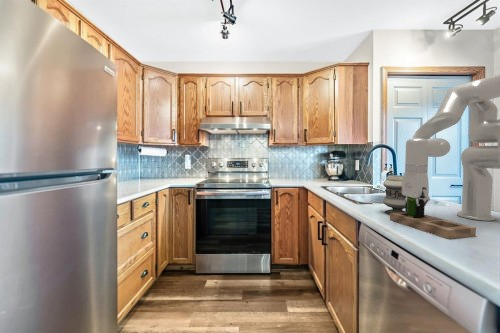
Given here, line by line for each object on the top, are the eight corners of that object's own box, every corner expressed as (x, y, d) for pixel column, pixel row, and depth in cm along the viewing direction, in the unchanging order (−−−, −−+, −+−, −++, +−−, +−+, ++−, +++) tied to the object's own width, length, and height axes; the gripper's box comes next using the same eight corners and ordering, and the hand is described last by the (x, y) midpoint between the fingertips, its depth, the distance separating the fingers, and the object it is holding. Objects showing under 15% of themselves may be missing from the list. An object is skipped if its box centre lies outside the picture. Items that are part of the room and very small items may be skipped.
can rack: (389, 220, 103) (390, 213, 103) (412, 218, 106) (412, 211, 106) (448, 239, 80) (449, 230, 79) (475, 236, 82) (476, 227, 82)
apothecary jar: (378, 210, 121) (379, 174, 120) (404, 211, 119) (405, 174, 118) (388, 216, 109) (390, 176, 108) (417, 217, 107) (419, 177, 106)
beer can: (418, 225, 95) (419, 195, 94) (403, 222, 99) (404, 193, 99) (424, 223, 98) (425, 194, 97) (409, 220, 102) (410, 192, 101)
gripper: (394, 168, 106) (392, 209, 107) (421, 170, 89) (419, 219, 90) (411, 168, 106) (410, 209, 107) (442, 170, 89) (440, 219, 90)
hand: (414, 213), depth 98 cm, fingers closed on beer can, 5 cm apart
